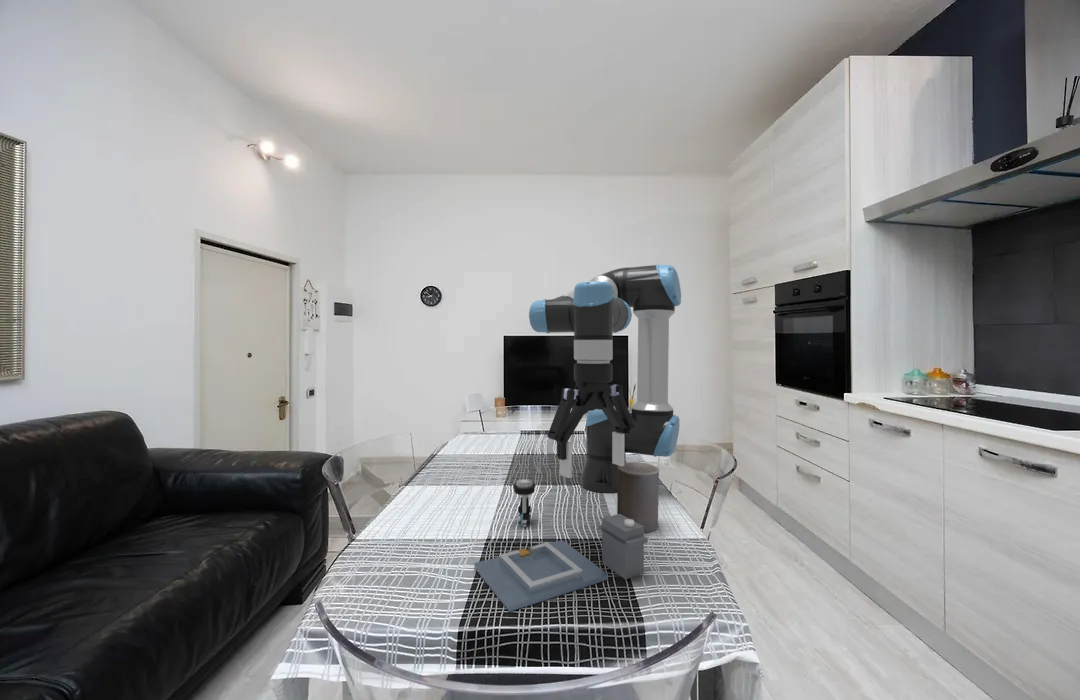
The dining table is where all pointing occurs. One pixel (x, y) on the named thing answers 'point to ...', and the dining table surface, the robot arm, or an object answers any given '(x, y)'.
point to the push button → (524, 499)
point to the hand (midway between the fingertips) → (593, 470)
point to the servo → (623, 545)
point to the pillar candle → (638, 493)
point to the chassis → (538, 574)
